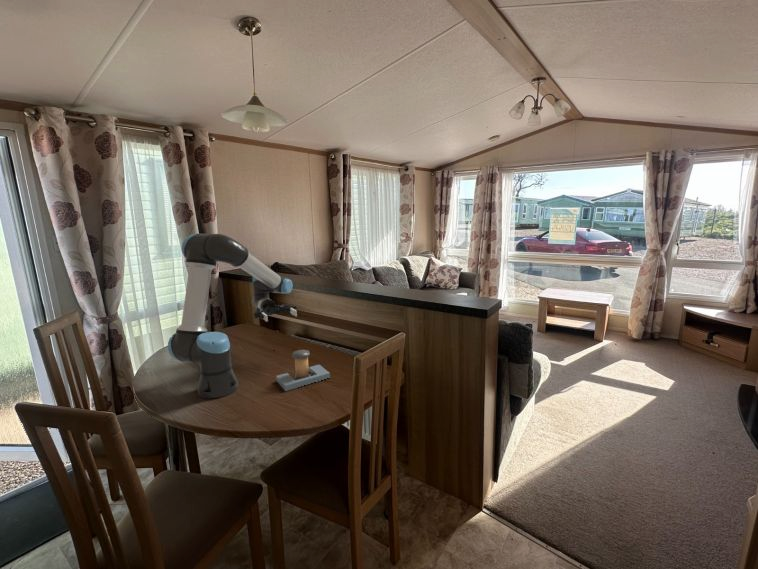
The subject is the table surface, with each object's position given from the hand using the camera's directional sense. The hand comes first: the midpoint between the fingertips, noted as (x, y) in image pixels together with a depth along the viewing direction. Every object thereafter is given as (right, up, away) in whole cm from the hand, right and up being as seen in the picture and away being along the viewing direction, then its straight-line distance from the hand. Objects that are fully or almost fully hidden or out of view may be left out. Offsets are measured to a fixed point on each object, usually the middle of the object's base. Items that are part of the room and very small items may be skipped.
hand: (281, 315), depth 162 cm
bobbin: (+11, -27, -7) cm, 30 cm away
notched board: (+12, -27, -8) cm, 30 cm away
